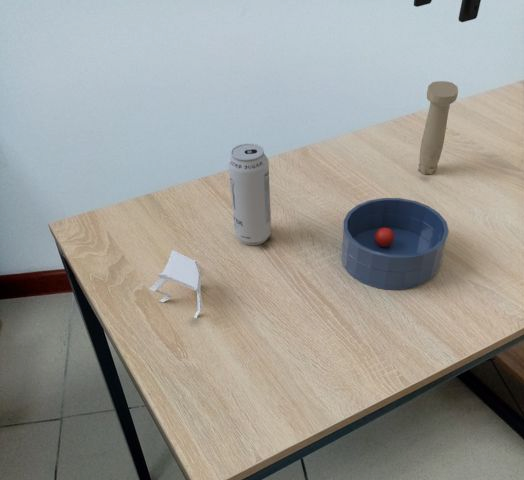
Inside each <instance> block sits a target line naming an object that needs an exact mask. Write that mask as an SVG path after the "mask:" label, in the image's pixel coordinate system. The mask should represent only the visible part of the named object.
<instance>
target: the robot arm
mask: <svg viewBox="0 0 524 480" xmlns="http://www.w3.org/2000/svg"><path fill="white" fill-rule="evenodd" d="M432 1H433V0H413V6H414V7H416V8H419V7H422V6H426V5H429V4H431V3H432ZM481 1H482V0H461V4H460V9H459V13H458V22H460V23H467V22H469V21H472V20H475V19H477V18H478V15H479V11H480V7H481Z"/></svg>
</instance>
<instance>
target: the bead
mask: <svg viewBox="0 0 524 480" xmlns="http://www.w3.org/2000/svg"><path fill="white" fill-rule="evenodd" d="M393 241H394V233H393V231H392V230H390V229H389V228H381V229H379V230H378V231H377V232H376V234H375V242H376V243H377V245H379V246H380V247H388V246H390V245H391V244H392V243H393Z"/></svg>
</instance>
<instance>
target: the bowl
mask: <svg viewBox="0 0 524 480" xmlns="http://www.w3.org/2000/svg"><path fill="white" fill-rule="evenodd" d="M342 222H343V223H342V234H341V235H342V236H341V253H340V261H341V264H342V266H343V268H344V269H345V271H346V272H347V273H348V274H349V275H350V276H351V277H352V278H354V279H355V280H357V281H358V282H360V283H362V284H364V285H367V286H369V287H372V288H376V289H382V290H389V291H390V290H391V291H402V290H410V289H415V288H418V287H420V286H422V285H425V284H426V283H428V282H430V281H431V280H432V279H433V278H434V277H435V276H436V275H437V274H438V272H439V270H440V267H441V264H442V260H443V257H444V253H445V248H446V246H447V245H446V244H447V241H448V236H449V234H450V233H449V232H450V231H449V227H448V223H447V220H446V219H445V218H444V217H443V215H442V214H441V213H440V212H438V211H437V210H435V209H434V208H432V207H431V206H429V205H427V204H424V203H422V202H419V201H417V200H412V199H407V198H401V197H381V198H375V199H370V200H367V201H364V202H361V203H359V204H357V205H355V207H353V208H352V209H350V210H349V211H348V212H347V214H346V215H345V217H344V219H343V221H342ZM381 228H389V229H390V230H392V231H393V233H394V241H393V243H392V244H391V245H390V246H388V247H380V246H379V245H377V243H376V242H375V234H376V232H377V231H378V230H379V229H381Z"/></svg>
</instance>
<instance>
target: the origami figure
mask: <svg viewBox="0 0 524 480" xmlns="http://www.w3.org/2000/svg"><path fill="white" fill-rule="evenodd" d="M204 271H205V268H204V267H202V266H201V265H199V264H198V263H197V260H196V259H192V258H190V257H188V256H186V255H184V254H182V253H181V252H178V251H176V250H175V249H174V248H173V249H172V251H171V252H170V255H169V258H168V261H167V263H166V264H165V267H164V268H163V270H162V272H160V273H158V274H157V275H158V277H159V279H157V280H156V282H155V283H153V284H152V286H151V287H149V289H148V290H149V291H152V292H154V293H157V294H160V295H162V296H165V297H163V298H161V299H159V300H158V302H161V303H164V302H167V301H168V300H170V299H172V298H174V296H172V295H170V294H168V293H165V292H164V291H161V290H159V289H160V288H161V287H162V286H163V285H164V284H166V282H167V281H169V282H172V283H175V284H177V285H181V286H182V287H185V288H186V289H187V288H188V289H190V290H192V291H194V292H196V296H197V297H196V298H197V299H196V300H197V310H196V312H195V314H194V316H193V317H194V318H195V319H197V318H199V315H200V313H201V312H203V311H204V310H203V308H204V307H203V298H202V293H201V288H202V276H203V274H204Z"/></svg>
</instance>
